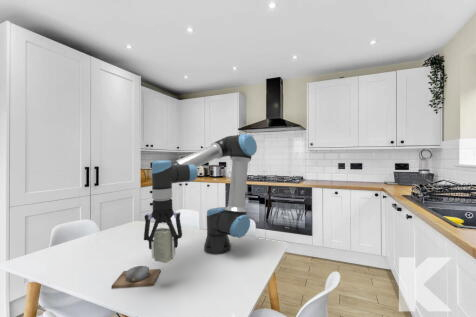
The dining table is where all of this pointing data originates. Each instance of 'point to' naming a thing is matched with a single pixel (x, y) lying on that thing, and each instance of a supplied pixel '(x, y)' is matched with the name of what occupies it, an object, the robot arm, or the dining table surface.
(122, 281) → the bayonet base
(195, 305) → the dining table surface
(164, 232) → the skincare box
